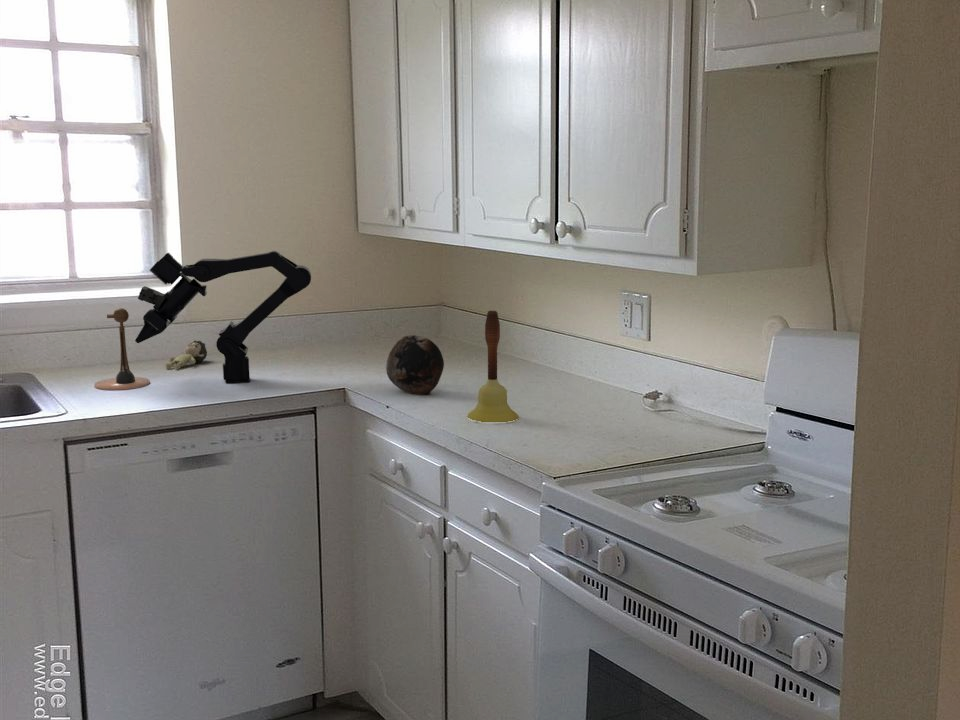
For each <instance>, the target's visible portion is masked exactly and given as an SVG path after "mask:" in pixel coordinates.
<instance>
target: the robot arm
mask: <svg viewBox="0 0 960 720" xmlns="http://www.w3.org/2000/svg"><path fill="white" fill-rule="evenodd" d="M269 267H271V268H273V269H275V270H277V272H279V273H280V274H281V275H283V276H284V277H285V278H284V279H283V280H282V282H281V284H279V286H278V287H277V288H276V289H275V290H274V291H273V292H272V293H271V294H269V295H268V296H267V297H266V298H265V299H264V300H263V301H262V302H261V303H259V304H258V305H257V307H255V308H254V309H253V310H252V311H251V312H250V313H249V314H247V316H246V317H244V318H243V319H242V320H241V321H239V322H238V323H236V324H235V323H234V322H233V321H232V320H231V321H230V323H228V325H227V326H226V327H225V328H223V329H221V330H220V332H219V333H218V338H217V340H216V348H217V351H218V352H219V353H220V354H222V355H223V357H224V363H222V375H223V376H222V378H223V380H224V381H225V383H226V384H234V383H249V382H251V378H250V358H249V356H247V354H248V351H249V347H248V346H247V345H246V344H244V342H245V340H246V339H247V338H248V336H249V334H250V333H251V332H252V331H253V330H254V329H255V328H256V327H257V326H259V325H260V324H261V323H262V322H263V321H265V320H266V318H268V317H269V316H270V315H271V314H272V313H274V311H275V310H277V309H278V308H279V307H280V306H281V305H282V304H283V303H284V302H285V301H286V300H287V299H290V297H292V296H294V295H297V294H298V293H299V292H302V290H304V289H306V288H307V287H308V286H309V285H310V284H311V281H312V271H311V270H310V269H309V268H308V267H307V266H305V265H300V264H296V263H295V262H294V261H291V259H288V258H287V257H285V256H283V254H281V253H280V252H279V251H277V250H271V251H267V252H263V253H257V254H252V255H245V256H241V257H240V256H239V257H234V258H233V257H232V258H227V259H226V258H201V259H199V260H197V262H195V263H194V264H193V263H192V264H189V265H188V264H186V265H182V264H181V263H180V262H179V261H177V260H176V259H175V257H173V255H172V254H171V253H170V252H167V253H165V255H163V256H162V257H161V258H160V259H159V260H157V261H156V262H155V263H154V264H153V265H152V266H151V268H150V269H149V272H151V274H153V275H154V276H155V277H156V278H157V279H159V280H160V281H161V282H162V284H165V285H167V284H168V285H171V286H172V285H173V284H175V283H176V281H177V280H178V279H179V278H180V277H181V278H180V280H178V282H177V283H176V284H175V285H174V286H173V287H172V288H171V289H170V290H169V291H167V292H166V293H163V292H160V291H159V290H156V289H153V288H151V287H149V286H143V287H141V289H140V291H139V293H138V296H137V299H138V300H140V301H142V302H143V301H144V302H146V303H148V304H151V305H153V306H152V309H149V310H148V311H147V312H146V313H145V314H144V315H143V318H142V319H143V326H142V327H141V330H140V331H139V333H138V335H136V339H135V340H134V341H135V343H137V344H139V343H142V342H144V341H146V340H148V339H151V338H154V337H155V336H157V335H161V334H162V333H163V332H165V330H167V328H168V327H169V326H170V325H171V324H172V323H173V322H174V321H175V320H177V318H178V315H179V314H180V313H181V312H182V311H183V310H184V309H185V308H186V307H187V306H188V304H190V303H191V301H193V299H194V298H195V297H196V296H197V295H198V294H200V295H201V296H202V297H206V295H208V292H207V285H206V284H205V285H203V284H201V283H207V282H211V281H214V280H216V279H218V278H221V277H224V276H226V275H229V274H233V273H239V272H245V271H252V270H257V269H264V268H269ZM190 278H193V279H190Z"/></svg>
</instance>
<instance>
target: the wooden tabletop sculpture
mask: <svg viewBox="0 0 960 720" xmlns="http://www.w3.org/2000/svg"><path fill="white" fill-rule="evenodd" d="M129 317H130V315H129V312H128V311H127V310H126V308H120V307H119V308H117V309H114V312H113V313H111V314H106V318H107V319H113V320H114V322H117V323H119V326H118V330H119V344H120V346H119V347H120V368H119V371H118V373H117V374H116V377H115V378H116V383H117V384H129V383H133V382H135V377H136V376H135V375H134V373H133V372H132V371H131V370H130V366H129V361H128V354H127V344H126V332H125V331H126V330H125V327H126V325H124V323H126V322H127V321H128V320H129Z"/></svg>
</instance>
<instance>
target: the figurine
mask: <svg viewBox="0 0 960 720" xmlns="http://www.w3.org/2000/svg"><path fill="white" fill-rule="evenodd" d="M184 353H185V354H181V355H179V356H177V357H175V356H174V357H170V358H169V363H166V364H165V368H166V370H171V369H172V368H174V370H175V371H178V370H179V369H181V368H183V367H184V366H186V365H188V363H190V364H191V365H192V364H193V365H194V364H198V363H202V362H203V361H204V360H205V359H206V358H207V355H208V350H207V348H206V344H205V342H202V341H201V340H194V341H192V342H190V343H189V344H188V345H187V346H186V348H185V352H184Z"/></svg>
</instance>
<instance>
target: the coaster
mask: <svg viewBox="0 0 960 720" xmlns="http://www.w3.org/2000/svg"><path fill="white" fill-rule="evenodd" d="M134 377H135V382H133V383H129V384H117V383H116V377H111V378H105V379H102V380H98V381H96V382H94V388H95V389H98V390H102V391H124V390H133V389H138V388H139V389H140V388H143V387H146V386H148V385H150V379H149V378H147V377H143V376H142V377H141V376H134Z"/></svg>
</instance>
